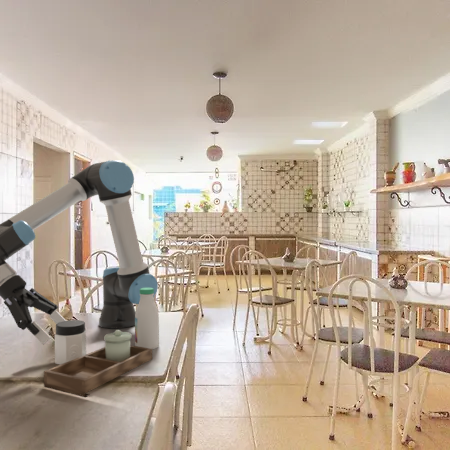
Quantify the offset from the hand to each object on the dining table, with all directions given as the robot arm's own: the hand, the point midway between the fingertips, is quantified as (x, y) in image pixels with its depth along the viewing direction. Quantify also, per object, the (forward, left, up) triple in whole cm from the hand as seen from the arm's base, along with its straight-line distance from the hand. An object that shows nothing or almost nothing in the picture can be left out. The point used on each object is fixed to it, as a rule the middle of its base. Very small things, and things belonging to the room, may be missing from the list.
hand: (57, 334), depth 124 cm
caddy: (0, +17, -9) cm, 19 cm away
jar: (-2, +3, -9) cm, 10 cm away
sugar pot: (-7, +17, -8) cm, 20 cm away
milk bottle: (-23, +15, -9) cm, 29 cm away
